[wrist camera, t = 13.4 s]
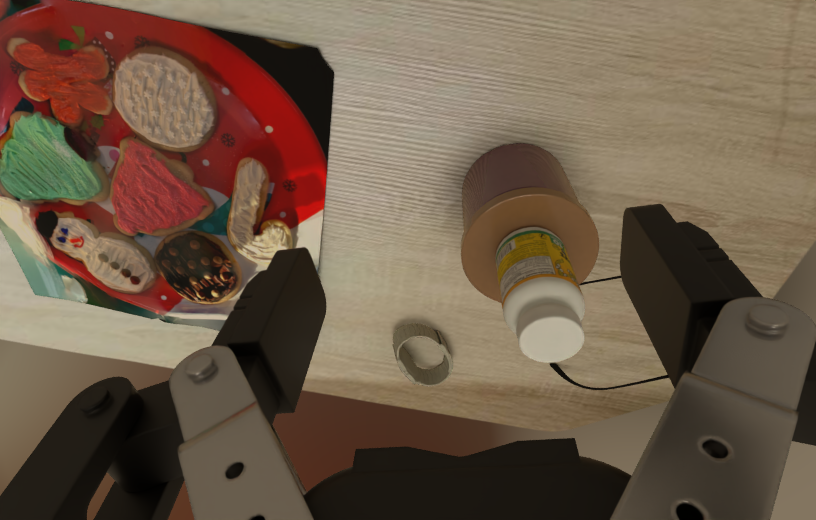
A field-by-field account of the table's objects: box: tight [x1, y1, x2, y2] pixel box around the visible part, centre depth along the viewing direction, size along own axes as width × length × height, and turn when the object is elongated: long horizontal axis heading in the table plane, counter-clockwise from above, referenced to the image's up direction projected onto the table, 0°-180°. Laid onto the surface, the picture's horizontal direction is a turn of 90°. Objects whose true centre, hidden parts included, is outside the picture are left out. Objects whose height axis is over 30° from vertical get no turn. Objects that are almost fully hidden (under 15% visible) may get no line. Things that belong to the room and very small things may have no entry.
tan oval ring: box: [393, 323, 453, 386], centre depth 57 cm, size 9×6×5 cm
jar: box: [461, 143, 599, 303], centre depth 42 cm, size 11×11×11 cm
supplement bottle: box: [495, 227, 585, 363], centre depth 33 cm, size 5×5×10 cm
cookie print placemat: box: [0, 0, 334, 331], centre depth 48 cm, size 35×35×2 cm
